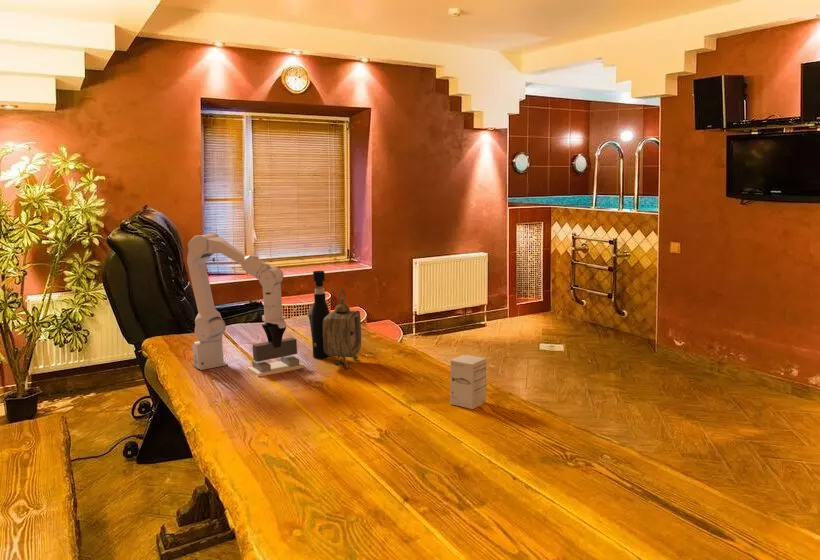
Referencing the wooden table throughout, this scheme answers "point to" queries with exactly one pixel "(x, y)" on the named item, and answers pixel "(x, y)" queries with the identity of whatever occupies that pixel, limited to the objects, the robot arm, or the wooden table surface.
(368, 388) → the wooden table surface
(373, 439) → the wooden table surface
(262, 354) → the handle bar
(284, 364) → the stand
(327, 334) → the tabletop clock
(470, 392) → the supplement box
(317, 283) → the wine bottle
